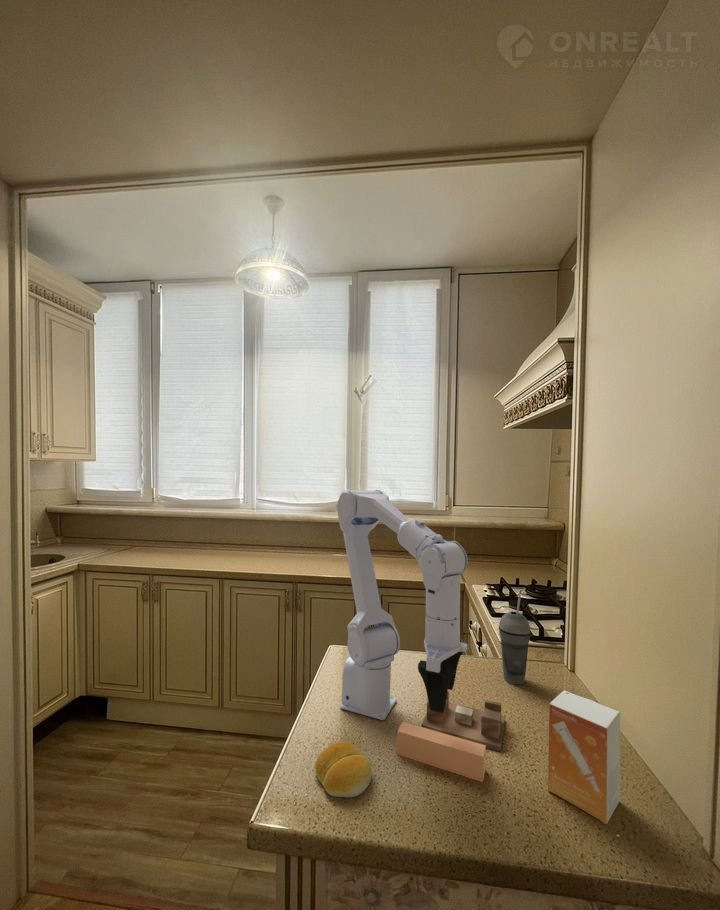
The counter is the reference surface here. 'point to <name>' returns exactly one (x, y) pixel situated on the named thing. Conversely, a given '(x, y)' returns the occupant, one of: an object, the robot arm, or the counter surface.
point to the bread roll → (343, 770)
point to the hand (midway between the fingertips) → (442, 698)
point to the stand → (469, 723)
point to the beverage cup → (514, 645)
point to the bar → (442, 751)
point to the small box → (584, 754)
